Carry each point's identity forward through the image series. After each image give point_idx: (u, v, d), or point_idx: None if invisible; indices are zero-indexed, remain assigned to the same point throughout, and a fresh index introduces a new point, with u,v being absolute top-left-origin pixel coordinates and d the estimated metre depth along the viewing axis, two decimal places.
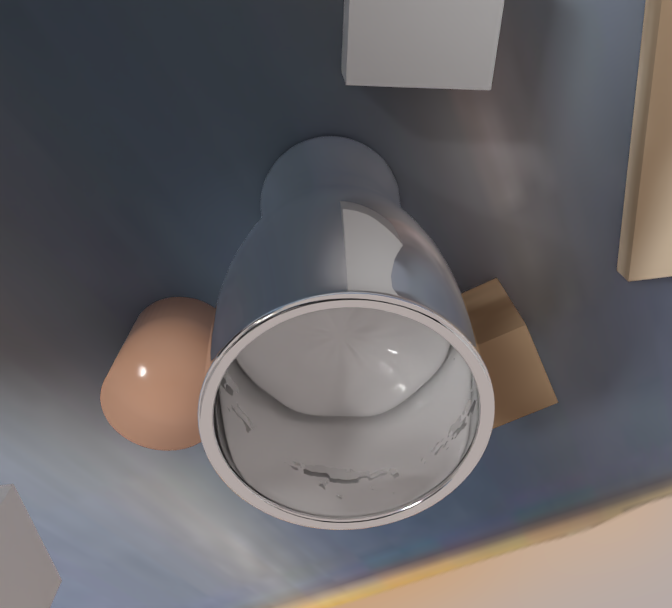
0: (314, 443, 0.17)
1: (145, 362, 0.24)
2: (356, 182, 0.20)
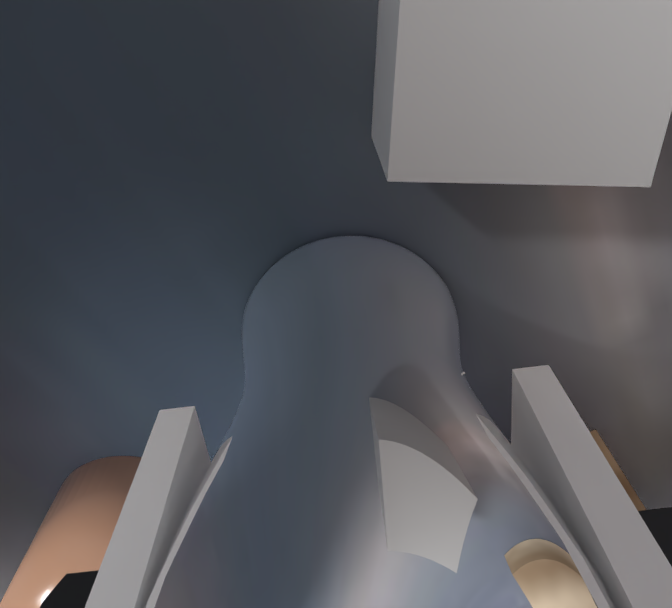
0: None
1: None
2: (407, 374, 0.10)
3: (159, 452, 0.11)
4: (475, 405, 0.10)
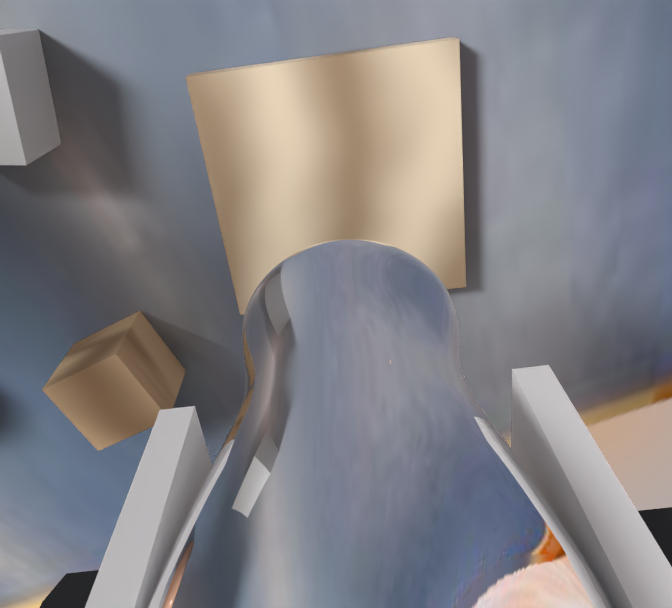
0: None
1: None
2: (408, 378, 0.10)
3: (159, 452, 0.11)
4: (476, 409, 0.10)
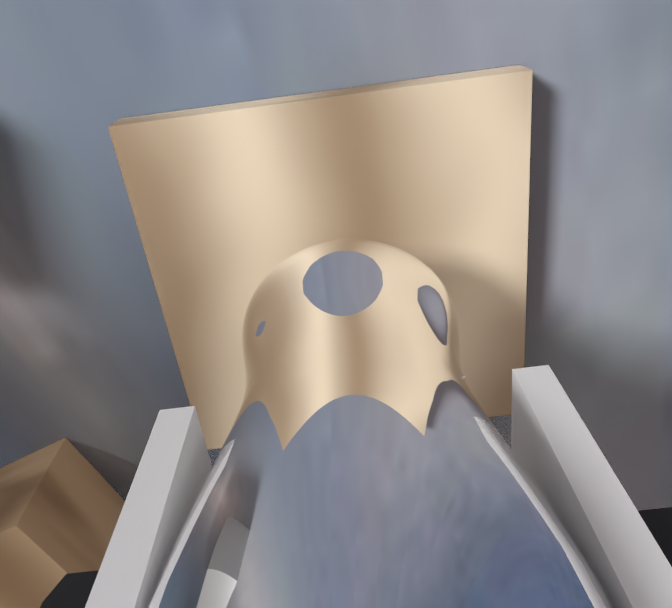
0: None
1: None
2: (408, 379, 0.10)
3: (159, 453, 0.11)
4: (476, 410, 0.10)
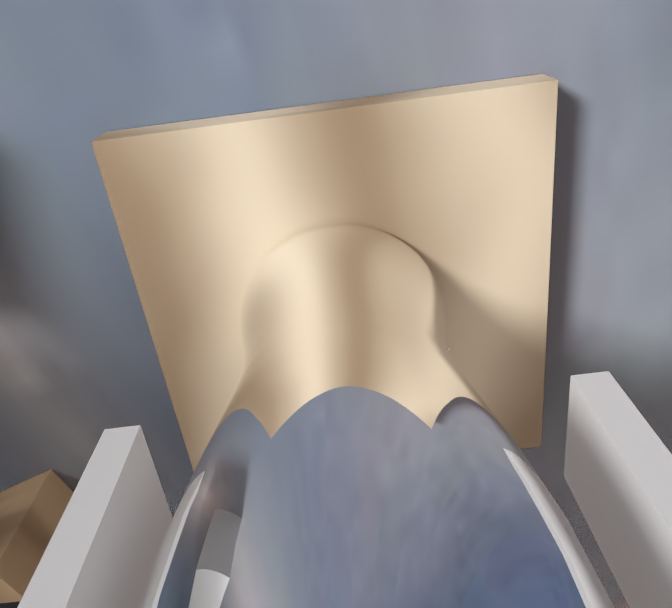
0: None
1: None
2: (395, 345, 0.11)
3: (98, 475, 0.11)
4: (457, 373, 0.11)
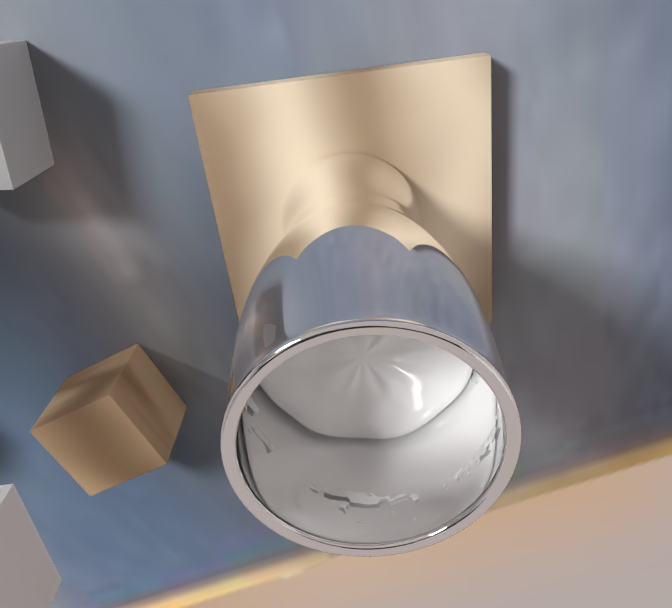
0: (334, 465, 0.17)
1: None
2: (379, 202, 0.20)
3: None
4: None
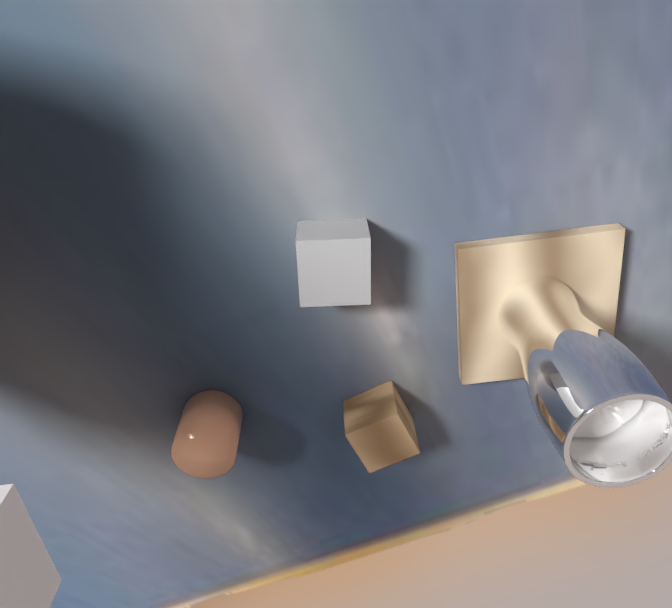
0: (577, 450, 0.37)
1: (196, 432, 0.46)
2: (584, 319, 0.39)
3: None
4: None
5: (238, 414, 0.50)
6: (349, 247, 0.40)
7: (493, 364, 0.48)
